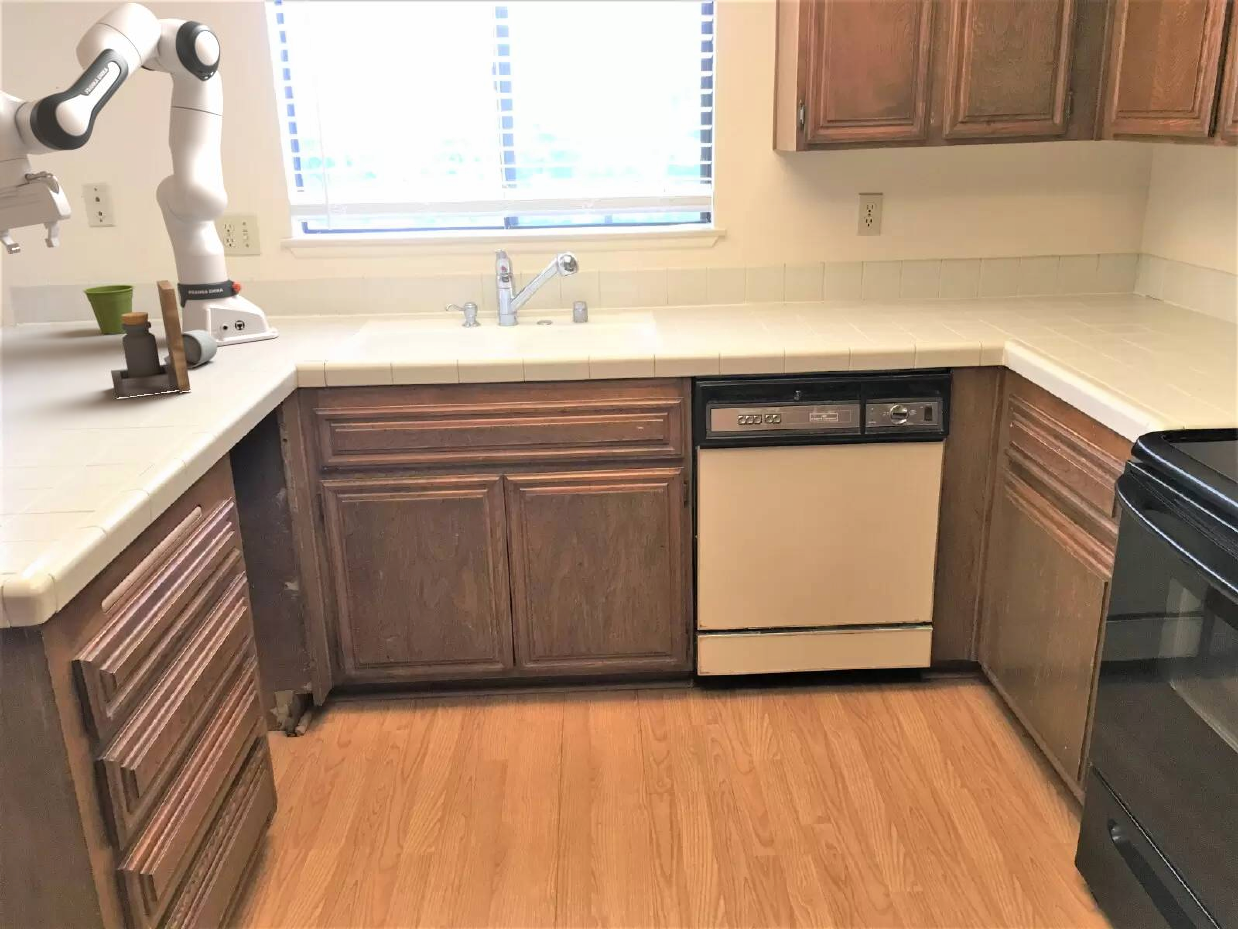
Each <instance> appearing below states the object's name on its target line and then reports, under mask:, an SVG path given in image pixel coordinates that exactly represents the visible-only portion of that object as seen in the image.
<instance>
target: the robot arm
mask: <svg viewBox="0 0 1238 929" xmlns="http://www.w3.org/2000/svg"><path fill="white" fill-rule="evenodd" d="M75 52H76V53H75V54H76V58H77V60H78V63H79V66H80V67H81V68H82V70H83V71H82V72H81V73H80V74H79V76H77V78H75V80H74V81H73V82H72V83H71V85H70V86H69V87H68V88H67V89H66V90H63V91H62V92H56V93H53V94H51V95H48V96H45V97H43V98H40V99H36V100H33V101H30V100H26V99H24V98H23V99H22V98H19V97H17V96H15V95H14V96H13V95H11V94H9V93H7V92H5V91H3V90H1V89H0V243H2V244H3V246H5V249H6V250H7V253H8V254H9V255H13V254H17V253H18V254H19V253H21V248H20V245H19V242H16V243H15V242H14V241H13V239H12V238H11V237H10V235H11V232H10V230H12V229H17V228H23V227H24V228H25V227H30V226H35V225H41V224H43V227H44V228H45V230H47V238H44V242H45V243H46V246H47V248H48V249H50V248H55V247H59V246H61V245H60V241H59V240H60V239H59V237H58V235H59V229H60V225H59V222H58V221H63V220H68V219H71V217H72V208H71V206H70V203H69V202H68V200H67V198H66V195H65V193H64V191H63V190H62V189H63V188H61V186H60V184H59V181H58V178H57V177H56V176H54V174H52V173H50V172H48V171H45V170H44V171H40V172H34V171H33V168H32V166H31V163H30V160H29V157H28V155H35V156H40V155H45V154H46V155H47V154H52V153H57V152H62V151H74V150H78V149H80V148H82V147H84V146H85V145H86V144H87V143H88V142H89V140H90V139H91V136H92V133H93V130H94V125H95V123H96V119H97V116H98V115H99V113H100V112H101V111H102V110H103V108H104V107H105V106H106V105H107V103H108V102H109V100H111V98H112V97H113V96H114V95H115V93H116V92H117V91H118V90H119V88H120V87H121V86H122V85H123V84H124V83H126V81H128V80H129V79H130V78H131V77H132V76H134V75H135V74H136V73H137V72H138V70H139V69H143V70H146V71H151V72H154V71H157V72H161V73H167V74H169V75H170V78H171V81H172V90H171V98H170V111H169V127H168V146H169V148H170V153H171V159H172V168H173V169H172V170H173V174H170V175H168V176H167V177H165V178H164V179H162V180H161V182H160V183H159V184H158V185H157V187H156V191H155V198H156V202H157V204H158V206H159V208H160V210H161V214H162V217H163V218H162V219H163V222H164V225H165V228H166V231H167V234H168V237H169V240H170V242H171V245H172V251H173V255H174V262H175V267H176V268H175V269H176V274H177V278H178V279H177V280H178V281H177V284H176V285H177V288H176V290H177V296H178V303H179V305H180V308H181V313H182V320H181V321H182V322H181V324H182V326H181V327H182V328H181V333H183V332H188V331H192V330H204V331H207V332H209V333H210V334H212V336H213V337H214V338H215V340H216V342H217V347H219V346H220V347H222V346H226V345H227V346H229V345H234V344H240V343H242V344H243V343H249V342H254V341H261V340H268V339H275V338H277V337H278V336H279V335H280V333H279V331H278V328H276V327H273V326H269V322H268V318H267V316H266V314H265V312H264V310H263V309H262V308H260V307H259V306H257V305H256V304H254V303H253V302H251V301H250V300H248V299H246V298H245V297H243V296H241V295H239V293H240V292H242V290H243V286H242V284H241V283H240V282H235V281H234V280H231V279H229V278H228V270H227V262H226V257H225V249H224V246H223V243H222V242H221V240H220V238H219V235H218V232H217V230H216V227H215V224H214V221H216V220H218V219H219V218H221V217H222V216H223V215H224V214H225V212H226V210H227V208H228V204H229V202H228V196H227V195H228V194H227V192H226V190H225V185H224V176H223V174H224V173H223V168H222V158H221V155H222V154H221V147H222V146H221V145H222V143H221V142H222V128H223V114H224V113H223V112H224V109H223V108H224V107H223V106H224V104H223V103H224V102H223V101H224V100H223V88H222V86H223V85H222V79H221V75H220V73H219V71H218V68H219V66H220V65H219V64H220V60H221V45H220V41H219V39H218V38H217V35H216V33H215V32H214V30H213V29H212V28H211V27H209V26H207V25H206V24H204V23H201V22H197V21H193V20H188V21H187V20H183V19H176V18H166V19H165V18H164V19H163V18H162V19H158V18H157V17H156V16H155V15H154V13H152V12H151V11H150V10H149V9H148V8H146V7H144V6H143V5H141V4H139V3H135V2H126V3H122V4H121V5H119V6H116V7H114V9H112V10H110V11H109V12H108V13H106V14H104V15H103V16H102V17H101V18H99V19H98V20H97V21H96V23H94V24H93V25H92V26H91V27H90V28H89V29H88V30H87V31H86V32H85V33H84V35H83V36H82V38H81V39H80V41H79V42H78V44H77V45H76V49H75Z"/></svg>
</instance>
